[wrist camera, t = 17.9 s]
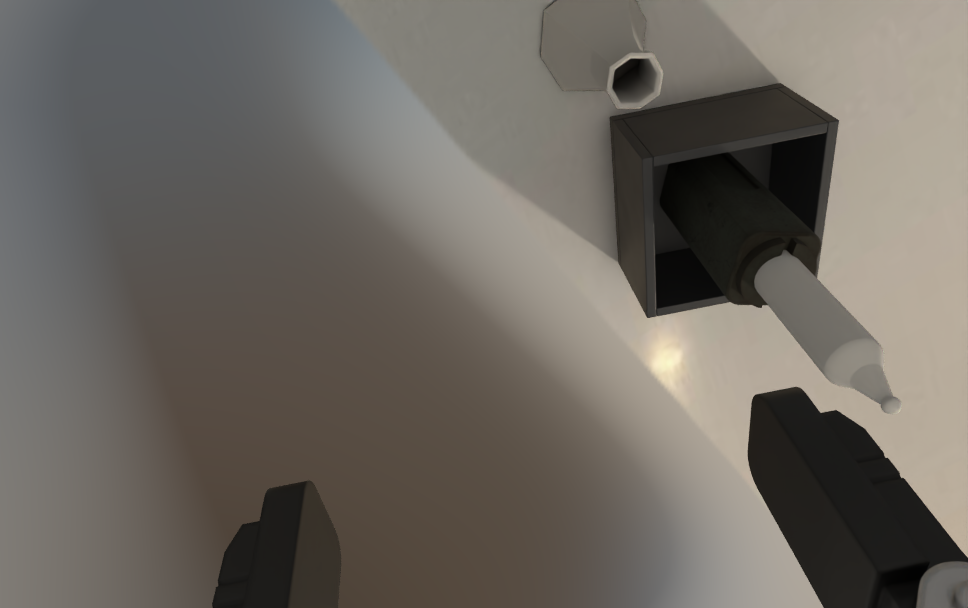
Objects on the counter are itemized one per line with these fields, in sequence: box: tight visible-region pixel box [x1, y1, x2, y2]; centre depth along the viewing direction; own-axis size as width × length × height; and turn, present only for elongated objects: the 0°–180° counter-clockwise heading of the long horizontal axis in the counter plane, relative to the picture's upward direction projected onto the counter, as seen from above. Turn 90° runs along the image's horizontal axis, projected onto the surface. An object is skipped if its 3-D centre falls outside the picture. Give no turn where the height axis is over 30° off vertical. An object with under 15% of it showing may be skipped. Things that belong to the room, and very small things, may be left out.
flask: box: [541, 0, 663, 109], centre depth 41 cm, size 7×7×10 cm
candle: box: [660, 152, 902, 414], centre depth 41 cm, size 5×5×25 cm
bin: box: [610, 83, 839, 318], centre depth 49 cm, size 12×12×8 cm
